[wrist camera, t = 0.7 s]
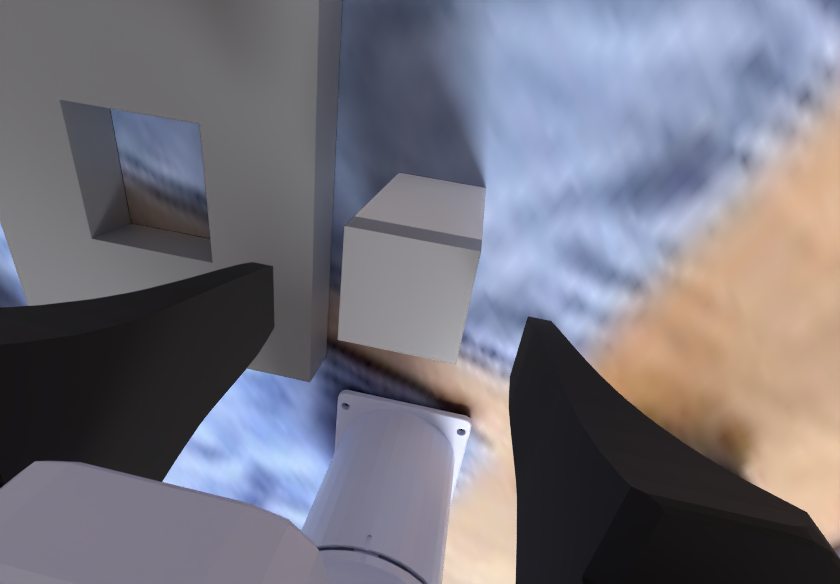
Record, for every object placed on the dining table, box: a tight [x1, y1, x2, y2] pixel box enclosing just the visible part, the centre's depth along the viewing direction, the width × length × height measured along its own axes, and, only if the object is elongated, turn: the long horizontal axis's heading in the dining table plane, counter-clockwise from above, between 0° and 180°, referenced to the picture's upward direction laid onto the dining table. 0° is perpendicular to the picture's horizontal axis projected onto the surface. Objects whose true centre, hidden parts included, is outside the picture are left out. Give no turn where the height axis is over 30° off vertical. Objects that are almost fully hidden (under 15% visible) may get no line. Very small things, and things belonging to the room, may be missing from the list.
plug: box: [338, 173, 486, 364], centre depth 17 cm, size 4×4×8 cm
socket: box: [0, 0, 342, 382], centre depth 20 cm, size 18×16×2 cm
